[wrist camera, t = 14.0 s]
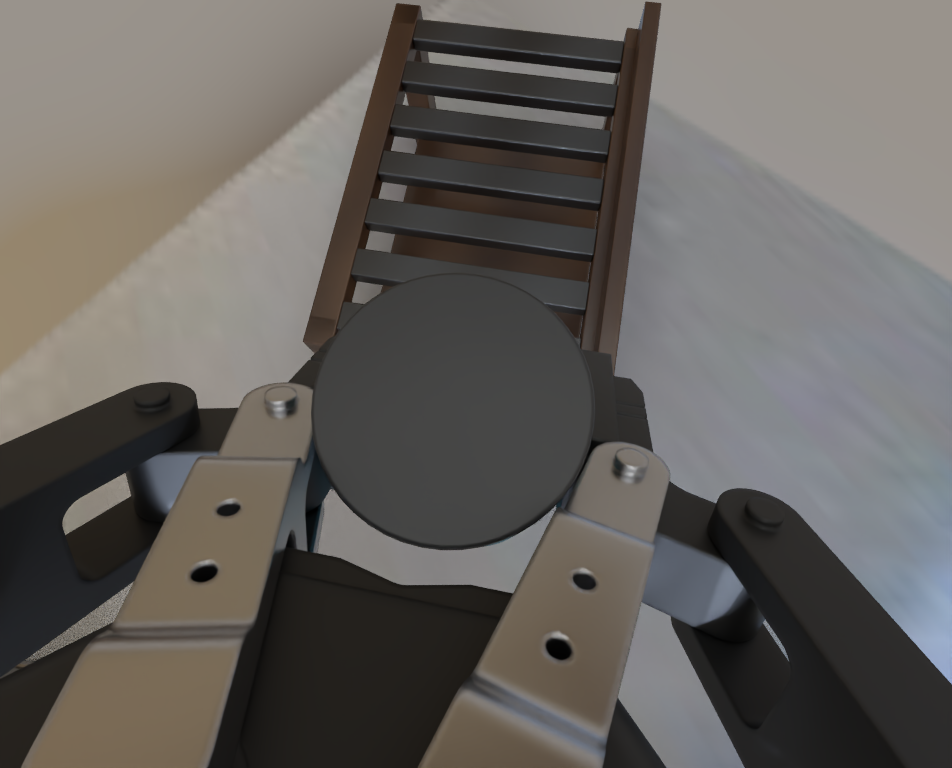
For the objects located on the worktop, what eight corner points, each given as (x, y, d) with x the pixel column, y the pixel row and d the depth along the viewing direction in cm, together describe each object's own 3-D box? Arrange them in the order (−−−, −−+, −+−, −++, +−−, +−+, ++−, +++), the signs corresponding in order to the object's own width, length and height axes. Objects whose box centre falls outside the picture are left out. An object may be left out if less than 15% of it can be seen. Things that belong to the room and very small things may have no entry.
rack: (355, 395, 36) (289, 329, 25) (421, 128, 41) (390, -26, 30) (577, 433, 35) (613, 382, 24) (617, 153, 40) (661, 2, 29)
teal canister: (394, 531, 16) (274, 518, 8) (423, 397, 17) (348, 251, 9) (533, 559, 16) (573, 578, 7) (555, 420, 17) (613, 293, 8)
